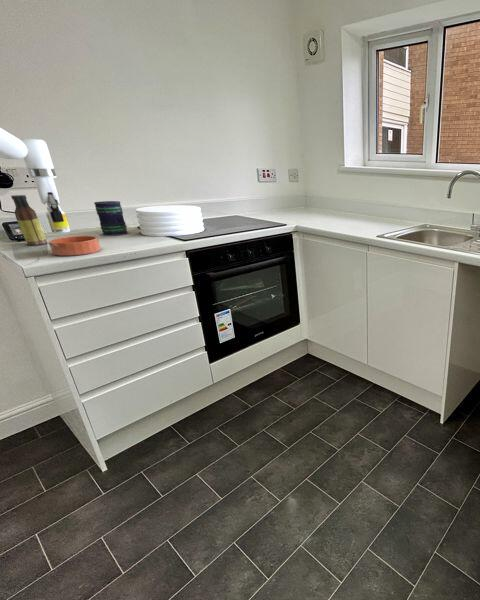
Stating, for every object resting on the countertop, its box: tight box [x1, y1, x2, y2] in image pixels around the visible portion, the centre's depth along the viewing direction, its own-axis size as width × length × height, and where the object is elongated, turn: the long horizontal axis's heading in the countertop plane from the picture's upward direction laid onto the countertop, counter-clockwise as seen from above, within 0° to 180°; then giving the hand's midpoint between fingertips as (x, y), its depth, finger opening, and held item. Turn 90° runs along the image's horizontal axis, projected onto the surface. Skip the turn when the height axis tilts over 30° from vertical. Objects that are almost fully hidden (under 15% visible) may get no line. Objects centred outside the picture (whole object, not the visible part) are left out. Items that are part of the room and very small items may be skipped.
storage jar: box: [93, 200, 129, 237], centre depth 168 cm, size 10×10×15 cm
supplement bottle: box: [45, 206, 71, 234], centre depth 142 cm, size 6×6×10 cm
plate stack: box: [135, 204, 205, 237], centre depth 180 cm, size 28×28×12 cm
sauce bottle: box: [10, 194, 48, 246], centre depth 143 cm, size 7×6×20 cm
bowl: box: [48, 235, 102, 257], centre depth 136 cm, size 14×14×5 cm
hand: (57, 220), depth 142 cm, fingers closed on supplement bottle, 5 cm apart
